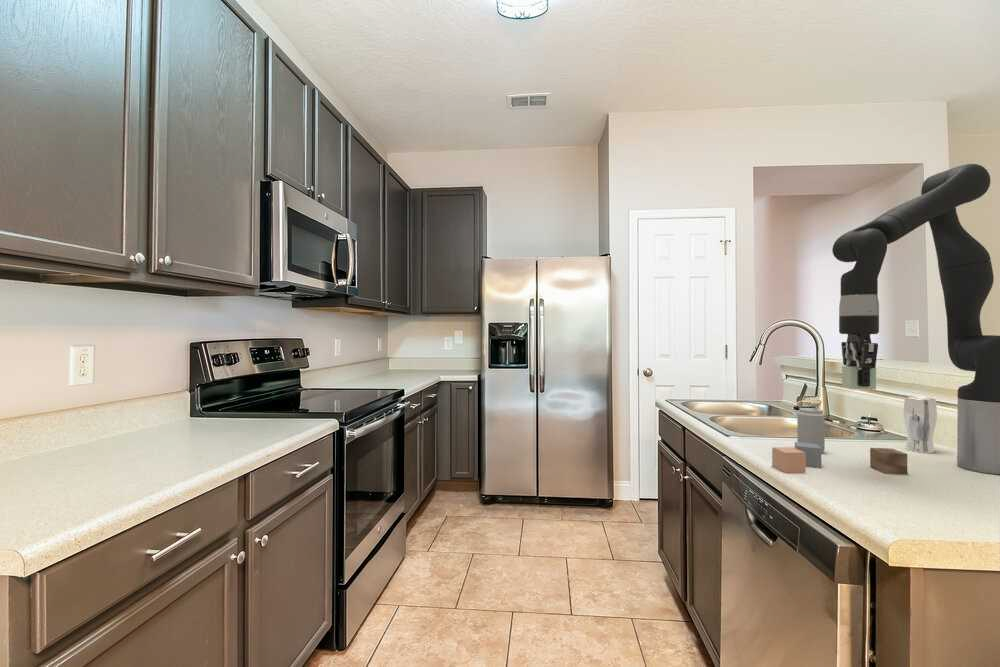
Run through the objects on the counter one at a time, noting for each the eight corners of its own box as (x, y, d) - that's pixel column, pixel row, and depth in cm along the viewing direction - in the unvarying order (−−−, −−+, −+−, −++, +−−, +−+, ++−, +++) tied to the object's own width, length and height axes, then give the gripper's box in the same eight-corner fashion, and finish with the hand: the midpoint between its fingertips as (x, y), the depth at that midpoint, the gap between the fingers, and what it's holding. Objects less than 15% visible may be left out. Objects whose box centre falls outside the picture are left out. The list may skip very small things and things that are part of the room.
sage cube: (866, 386, 110) (866, 366, 110) (876, 389, 105) (876, 367, 105) (841, 386, 111) (841, 365, 111) (850, 388, 106) (850, 367, 106)
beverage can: (829, 454, 125) (829, 411, 125) (803, 453, 126) (803, 410, 126) (817, 448, 131) (817, 407, 131) (793, 447, 132) (793, 407, 132)
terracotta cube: (791, 466, 114) (791, 447, 114) (805, 473, 109) (805, 452, 109) (772, 467, 114) (772, 447, 113) (785, 473, 109) (785, 452, 108)
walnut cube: (892, 468, 112) (892, 448, 112) (907, 474, 107) (907, 453, 107) (870, 467, 113) (870, 447, 113) (884, 473, 108) (884, 453, 108)
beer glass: (943, 453, 126) (944, 400, 126) (918, 453, 126) (918, 400, 126) (920, 447, 133) (921, 396, 133) (897, 447, 133) (897, 396, 133)
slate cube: (817, 463, 117) (817, 444, 117) (821, 468, 112) (821, 448, 112) (794, 460, 119) (794, 441, 119) (797, 465, 115) (797, 446, 115)
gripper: (892, 313, 100) (892, 389, 100) (864, 315, 114) (863, 382, 114) (852, 313, 102) (852, 388, 102) (829, 315, 116) (828, 381, 116)
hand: (858, 384), depth 108 cm, fingers closed on sage cube, 5 cm apart
